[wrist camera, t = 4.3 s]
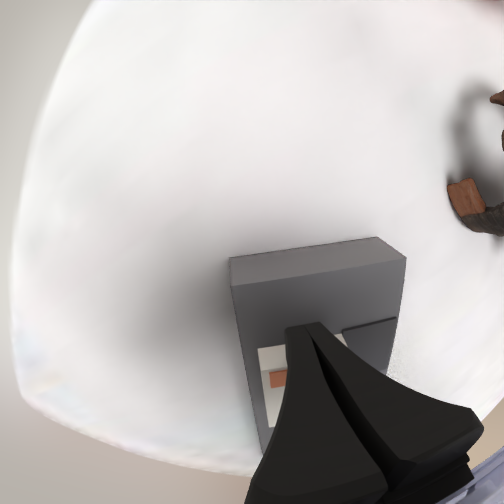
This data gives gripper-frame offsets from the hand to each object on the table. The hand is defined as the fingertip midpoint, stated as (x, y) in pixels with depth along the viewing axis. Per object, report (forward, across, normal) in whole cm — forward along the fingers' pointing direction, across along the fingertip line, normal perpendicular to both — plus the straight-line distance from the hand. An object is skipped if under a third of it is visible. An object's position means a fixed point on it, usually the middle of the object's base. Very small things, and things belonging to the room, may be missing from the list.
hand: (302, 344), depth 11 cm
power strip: (+5, -2, +8) cm, 10 cm away
